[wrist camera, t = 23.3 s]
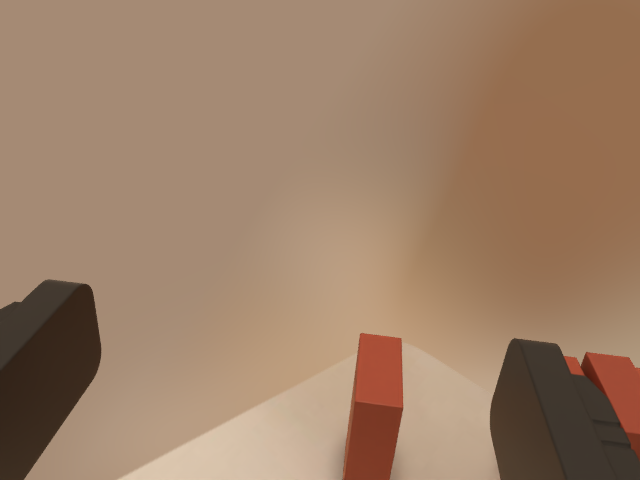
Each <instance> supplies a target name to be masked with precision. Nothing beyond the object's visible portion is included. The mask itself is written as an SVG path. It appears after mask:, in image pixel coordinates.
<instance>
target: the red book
mask: <svg viewBox="0 0 640 480" xmlns="http://www.w3.org/2000/svg"><path fill="white" fill-rule="evenodd" d="M402 412H403V380H402V342H401V338H395V337H387V336H379V335H371V334H364V333H361V334H360V339H359V347H358V355H357V363H356V370H355V378H354V386H353V393H352V401H351V409H350V416H349V424H348V432H347V439H346V448H345V459H344V470H343V480H389V479H390V474H391V469H392V464H393V458H394V453H395V448H396V443H397V438H398V432H399V427H400V422H401V417H402Z"/></svg>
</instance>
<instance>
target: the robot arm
mask: <svg viewBox="0 0 640 480" xmlns="http://www.w3.org/2000/svg"><path fill="white" fill-rule="evenodd" d="M100 359H101V343H100V336H99V329H98V323H97V316H96V309H95V302H94V296H93V292H92V289H91V287H90V286H89V285H87V284H80V283H73V282H65V281H57V280H45V281H43V282H42V283H41V284H40V285H39V286H38V287H37V288H35V289H34V290H33V291H32V292H31V293H30V294H29V295H28V296H27V297H26V298H25V299H24V300H23V301H22V302H14V303H12V304H10V305H8V306H6V307H4V308H2V309H0V480H24V478H25V477H26V476H27V474H28V473H29V471H30V470H31V469H32V467H33V466H34V464H35V463H36V461H37V460H38V458H39V457H40V456H41V454H42V453H43V451H44V450H45V448H46V447H47V445H48V444H49V442H50V441H51V439H52V438H53V436H54V435H55V434H56V432H57V431H58V429H59V428H60V426H61V425H62V424H63V422H64V421H65V419H66V418H67V416H68V415H69V414H70V412H71V411H72V409H73V408H74V406H75V405H76V404H77V402H78V401H79V399H80V398H81V396H82V395H83V393H84V392H85V390H86V389H87V387H88V386H89V384H90V383H91V382H92V380H93V379H94V377H95V375H96V373H97V370H98V367H99V363H100ZM620 424H621V423H620V421H619V419H618V417H617V415H616V413H615V411H614V409H613V407H612V405H611V403H610V401H609V399H608V398H607V397H606V396H605V395H604V394H603V393H602V392H601V391H600V389H599V388H598V387H597V386H596V385H595V384H594V383H593V382H592V381H591V380H590V379H589V378H588V377H587V376H585V375H577V374H571V372H570V369H569V367H568V365H567V363H566V360H565V358H564V356H563V354H562V351H561V349H560V347H559V346H558V345H557V344H554V343H546V342H539V341H531V340H523V339H515V338H514V339H512V340H511V342H510V344H509V346H508V349H507V352H506V355H505V359H504V362H503V366H502V369H501V372H500V375H499V379H498V382H497V385H496V389H495V392H494V395H493V399H492V403H491V410H490V430H491V436H492V441H493V446H494V450H495V455H496V459H497V464H498V468H499V473H500V478H501V480H640V461H639V459H638V457H637V455H636V453H635V451H634V450H633V449H631V443H630V441H629V439H628V437H627V435H626V433H625V431H624V429H623V428H621V427H620Z"/></svg>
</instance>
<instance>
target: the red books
mask: <svg viewBox="0 0 640 480" xmlns="http://www.w3.org/2000/svg"><path fill="white" fill-rule="evenodd" d="M564 358H565V360H566V363H567V365H568V367H569V369H570V372H571V374H577V375H585V376H587V377H588V378H589V379H590V380H591V381H592V382H593V383H594V384H595V385H596V386H597V387H598V388H599V389H600V391H601V392H602V393H603V394H604V395H605V396H606V397H607V398H608V399H609V401H610V403H611V405H612V407H613V409H614V411H615V413H616V415H617V417H618V419H619V421H620V423H621V424H620V427H621V428H623V429H624V431H625V433H626V435H627V437H628V439H629V441H630V443H631V449H633V450H634V451H635V453H636V455H637V457H638V459H639V461H640V368H635V367H634V365H633V363H632V362H631V360H630V358H628V357H621V356H613V355H605V354H597V353H588V352H586V354H585V356H584V359H583V362H582V364H581V367H580V364H579V362H578V360H577V358H575V357H567V356H564Z"/></svg>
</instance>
